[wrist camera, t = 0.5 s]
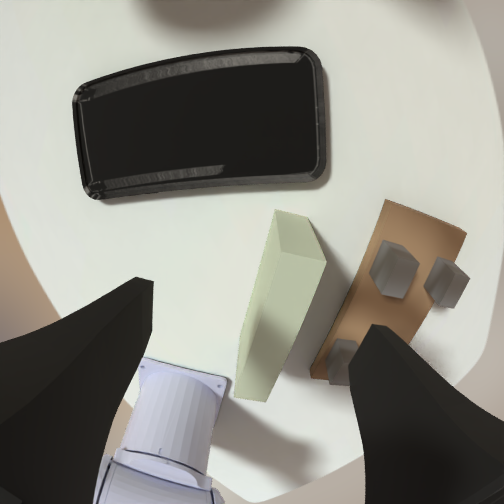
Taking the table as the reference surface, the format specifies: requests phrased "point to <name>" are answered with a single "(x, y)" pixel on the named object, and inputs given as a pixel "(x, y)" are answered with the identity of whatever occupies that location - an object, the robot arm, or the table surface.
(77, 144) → the phone
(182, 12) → the table surface
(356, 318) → the rail
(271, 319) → the door panel
